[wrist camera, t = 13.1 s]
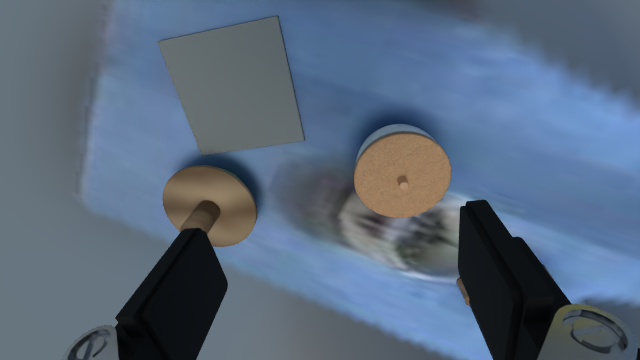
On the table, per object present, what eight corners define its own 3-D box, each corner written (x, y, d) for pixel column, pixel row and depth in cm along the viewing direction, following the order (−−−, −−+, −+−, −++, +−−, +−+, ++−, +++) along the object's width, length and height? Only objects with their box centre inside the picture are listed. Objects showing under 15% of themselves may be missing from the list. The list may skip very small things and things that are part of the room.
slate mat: (159, 41, 37) (157, 41, 37) (277, 15, 35) (277, 16, 35) (202, 154, 44) (201, 155, 44) (304, 139, 42) (304, 140, 41)
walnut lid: (150, 171, 42) (122, 193, 36) (241, 158, 39) (225, 180, 34) (186, 246, 47) (166, 274, 42) (267, 239, 45) (256, 268, 40)
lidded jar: (339, 137, 41) (336, 168, 33) (415, 97, 38) (433, 120, 30) (375, 198, 45) (380, 239, 37) (447, 166, 42) (470, 204, 34)
